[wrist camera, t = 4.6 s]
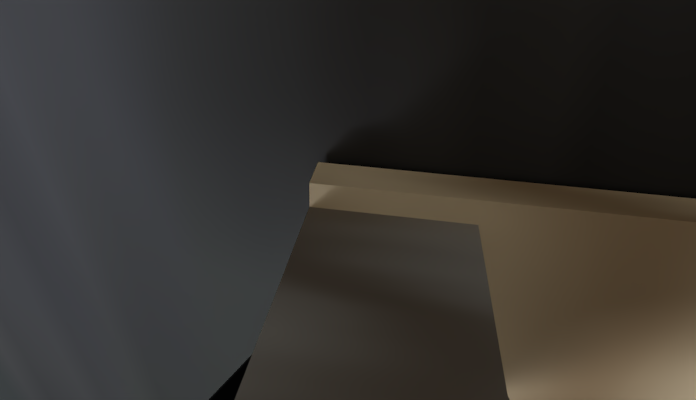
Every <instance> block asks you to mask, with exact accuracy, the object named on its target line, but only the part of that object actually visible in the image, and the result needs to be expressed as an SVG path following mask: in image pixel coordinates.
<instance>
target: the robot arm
mask: <svg viewBox="0 0 696 400" xmlns="http://www.w3.org/2000/svg"><path fill="white" fill-rule="evenodd" d="M251 356H252V355H251ZM251 356H250V357H249V358H248V359H247V360H246V361H245V362H244V363H243V364H242V365H241V366H240V368H239V369H238V370H237V371H236V372H235V373H234V374H233V375H232V376H231V377H230V378H229V379H228V380H227V381H226V382H225V383H224V384H223V385H222V386H221V387H220V388H219V389H218V390H217V392H216V393H215V394H214V395H213V396H212V397H211V398H210V399H209V400H235V397H236V395H237V392H238V389H239V387H240V384H241V382H242V379H243V377H244V374H245V371H246V369H247V366H248V364H249V361H250V359H251ZM508 400H510V399H509V397H508Z"/></svg>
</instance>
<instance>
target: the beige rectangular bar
mask: <svg viewBox="0 0 696 400" xmlns="http://www.w3.org/2000/svg"><path fill="white" fill-rule="evenodd" d="M309 199H310V207H309V210H308V212H307V215H306V217H305V220H304V223H303V225H302V228H301V230H300V233H299V235H298V238H297V240H296V243H295V246H294V248H293V251H292V253H291V256H290V258H289V261H288V264H287V266H286V269H285V271H284V274H283V276H282V279H281V282H280V284H279V287H278V289H277V292H276V294H275V297H274V300H273V302H272V305H271V307H270V310H269V312H268V315H267V318H266V320H265V323H264V325H263V328H262V330H261V333H260V335H259V338H258V341H257V343H256V346H255V348H254V351H253V353H252V356H251V359H250V361H249V364H248V366H247V369H246V371H245V374H244V377H243V379H242V382H241V384H240V387H239V389H238V392H237V395H236V397H235V400H508V397H509V399H510V400H696V199H694V198H683V197H673V196H663V195H652V194H642V193H632V192H622V191H611V190H601V189H591V188H580V187H570V186H560V185H549V184H539V183H529V182H518V181H508V180H498V179H487V178H477V177H467V176H457V175H446V174H436V173H426V172H415V171H405V170H395V169H384V168H374V167H364V166H353V165H343V164H333V163H322V162H318V164H317V166H316V168H315V171H314V173H313V175H312V178H311V180H310V182H309Z"/></svg>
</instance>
